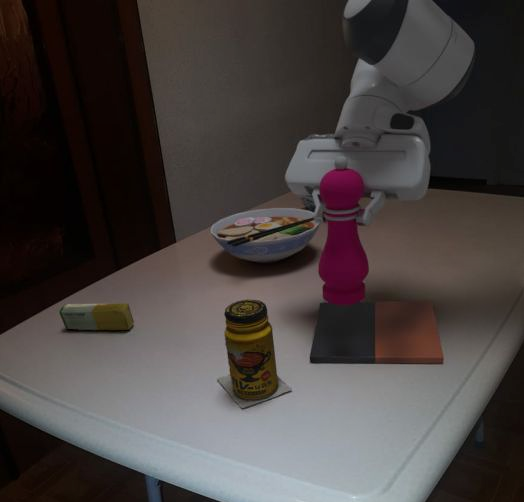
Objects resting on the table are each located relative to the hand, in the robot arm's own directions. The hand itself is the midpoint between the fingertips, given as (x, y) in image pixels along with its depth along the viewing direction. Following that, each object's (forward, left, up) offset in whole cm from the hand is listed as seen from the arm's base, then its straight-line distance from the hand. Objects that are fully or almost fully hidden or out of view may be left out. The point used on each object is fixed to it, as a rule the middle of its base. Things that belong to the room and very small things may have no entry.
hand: (340, 222), depth 76 cm
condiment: (+11, +14, -18) cm, 25 cm away
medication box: (+41, -2, -18) cm, 45 cm away
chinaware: (+7, -66, -18) cm, 68 cm away
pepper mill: (0, -1, -12) cm, 12 cm away
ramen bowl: (+17, -35, -18) cm, 43 cm away
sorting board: (-5, -1, -17) cm, 18 cm away
